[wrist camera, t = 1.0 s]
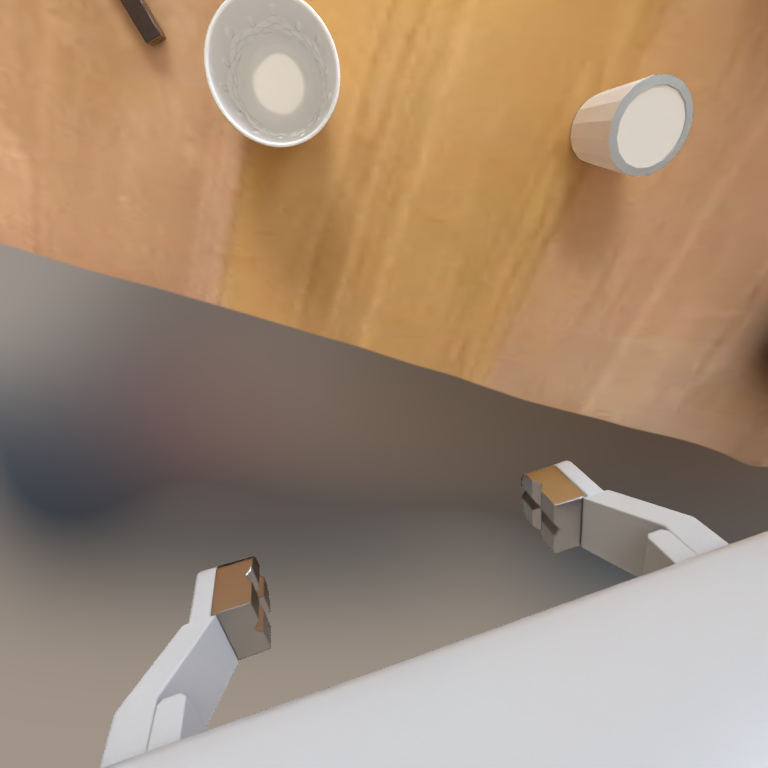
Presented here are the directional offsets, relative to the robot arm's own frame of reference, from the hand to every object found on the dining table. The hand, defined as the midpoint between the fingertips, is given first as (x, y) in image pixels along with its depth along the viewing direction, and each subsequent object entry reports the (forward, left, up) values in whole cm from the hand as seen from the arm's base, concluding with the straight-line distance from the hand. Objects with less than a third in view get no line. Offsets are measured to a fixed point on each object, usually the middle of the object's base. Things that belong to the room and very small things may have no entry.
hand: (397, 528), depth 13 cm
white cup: (-11, -8, -34) cm, 36 cm away
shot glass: (-18, +19, -34) cm, 43 cm away
